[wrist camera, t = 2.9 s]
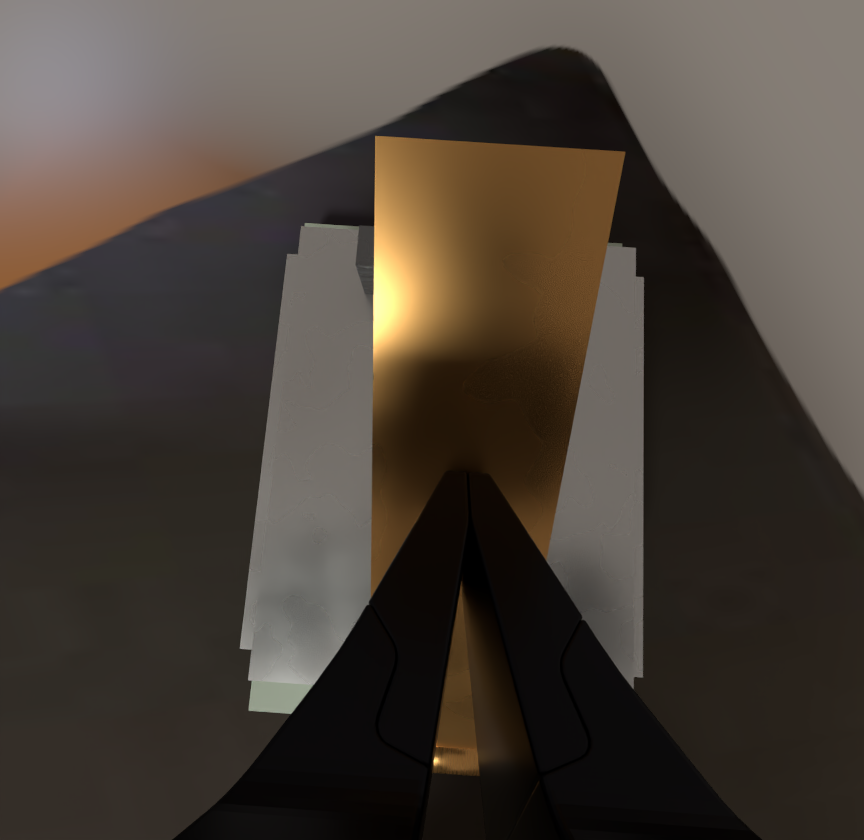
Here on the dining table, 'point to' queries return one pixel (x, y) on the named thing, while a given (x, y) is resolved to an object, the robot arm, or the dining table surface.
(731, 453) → the dining table surface
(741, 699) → the dining table surface
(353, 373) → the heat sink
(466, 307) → the strap
